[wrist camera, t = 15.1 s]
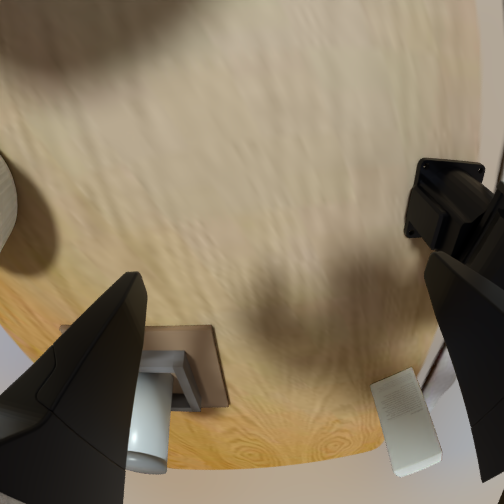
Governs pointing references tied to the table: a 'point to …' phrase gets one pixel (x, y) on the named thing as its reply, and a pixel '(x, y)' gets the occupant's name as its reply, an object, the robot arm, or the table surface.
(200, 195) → the table surface
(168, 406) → the grey cylinder
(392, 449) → the small box
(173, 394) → the jig board
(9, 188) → the ramekin
